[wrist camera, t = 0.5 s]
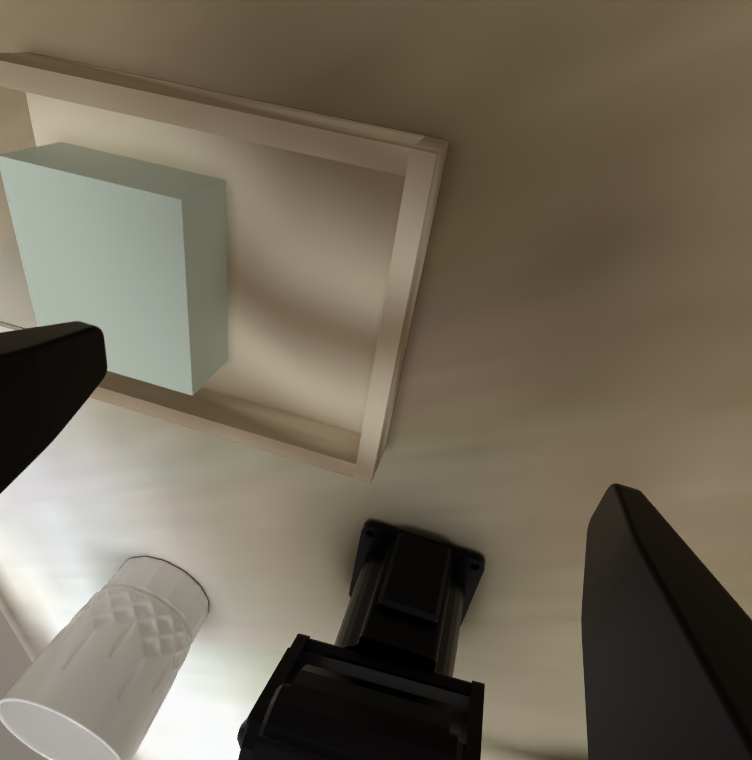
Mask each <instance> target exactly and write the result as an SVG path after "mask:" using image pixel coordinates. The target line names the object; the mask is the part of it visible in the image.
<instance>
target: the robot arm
mask: <svg viewBox="0 0 752 760" xmlns="http://www.w3.org/2000/svg"><path fill="white" fill-rule="evenodd" d="M106 372H107V357H106V349H105V340H104V334H103V332H102V330H101V329H100V328H99V327H97V326H94V325H91V324H88V323H84V322H81V321H73V322H66V323H59V324H53V325H46V326H40V327H33V328H27V329H20V330H14V331H7V332H1V333H0V494H1V493H2V492H3V491H4V490H5V489H6V488H7V487H8V486H9V485H10V484H11V483H12V482H13V481H14V480H15V479H16V478H17V477H18V476H19V475H20V474H21V473H22V472H23V471H24V470H25V469H26V468H27V467H28V466H29V465H30V464H31V463H32V462H33V461H34V460H35V459H36V458H37V457H38V456H39V455H40V454H41V453H42V452H43V451H44V450H45V449H46V448H47V447H48V445H49V444H50V443H51V442H52V441H53V440H54V439H55V438H56V437H57V435H58V434H59V433H60V432H61V431H62V430H63V428H64V427H65V426H66V425H67V423H68V422H69V421H70V420H71V419H72V417H73V416H74V415H75V414H76V412H77V411H78V410H79V409H80V408H81V406H82V405H83V404H84V403H85V401H86V400H87V399H88V398H89V397H90V395H91V394H92V393H93V392H94V390H95V389H96V388H97V387H98V386H99V384H100V383H101V382H102V381H103V379H104V377H105V375H106ZM370 530H371V531H370ZM474 563H475V564H474ZM484 568H485V560H484V558H483V557H482V556H480V555H478V554H475V553H472V552H469V551H465V550H462V549H459V548H456V547H453V546H450V545H446V544H443V543H440V542H437V541H434V540H430V539H427V538H424V537H421V536H418V535H415V534H411V533H408V532H405V531H402V530H399V529H395V528H392V527H389V526H386V525H383V524H380V523H376V522H372V521H368V522H366V523H365V524H364V526H363V529H362V532H361V537H360V542H359V547H358V552H357V557H356V562H355V567H354V572H353V577H352V582H351V587H350V592H349V596H350V597H351V599H350V602H349V605H348V607H347V610H346V613H345V616H344V619H343V622H342V625H341V627H340V630H339V633H338V636H337V639H336V642H335V645H332V644H328V643H324V642H321V641H317V640H313V639H310V636H307V635H303V634H298V635H297V637H296V638H295V640H294V642H293V644H292V645H291V647H290V648H288V649H287V650H286V652H285V654H284V656H283V657H282V659H281V661H280V662H279V664H278V666H277V668H276V669H275V671H274V673H273V674H272V676H271V678H270V680H269V681H268V683H267V685H266V687H265V688H264V690H263V692H262V693H261V695H260V697H259V699H258V700H257V702H256V704H255V705H254V707H253V709H252V711H251V712H250V714H249V716H248V718H247V719H246V720H245V721H244V722H243V724H242V725H241V727H240V729H239V732H238V737H237V740H238V742H239V745H240V748H241V751H240V755H239V759H238V760H480V756H481V739H482V721H483V704H484V687H485V684H483V683H480V682H476V681H472V683H471V682H468V681H464V680H460V679H457V678H453V672H454V665H455V658H456V651H457V644H458V637H459V631H460V626H461V624H462V622H463V619H464V617H465V614H466V612H467V610H468V607H469V605H470V603H471V600H472V598H473V595H474V593H475V591H476V588H477V586H478V584H479V581H480V579H481V576H482V574H483V572H484ZM581 621H582V647H583V665H584V683H585V702H586V720H587V738H588V756H589V760H752V620H751V618H750V617H749V616H748V615H747V614H746V613H745V611H744V610H743V609H742V608H741V607H740V606H739V604H738V603H737V602H736V601H735V600H734V599H733V598H732V596H731V595H730V594H729V593H728V592H727V591H726V589H725V588H724V587H723V586H722V585H721V584H720V582H719V581H718V580H717V579H716V578H715V577H714V575H713V574H712V573H711V572H710V571H709V570H708V569H707V567H706V566H705V565H704V564H703V563H702V562H701V560H700V559H699V558H698V557H697V556H696V555H695V553H694V552H693V551H692V550H691V549H690V548H689V546H688V545H687V544H686V543H685V542H684V541H683V540H682V538H681V537H680V536H679V535H678V534H677V533H676V531H675V530H674V529H673V528H672V527H671V526H670V524H669V523H668V522H667V521H666V520H665V519H664V517H663V516H662V515H661V514H660V513H659V512H658V511H657V509H656V508H655V507H654V506H653V505H652V504H651V502H650V501H649V500H648V499H647V498H646V497H645V495H644V494H643V493H642V492H641V491H639V490H637V489H634V488H631V487H627V486H624V485H621V484H617V483H615V484H612V485H611V486H610V487H609V488H608V489H607V490H606V492H605V494H604V496H603V498H602V499H601V501H600V503H599V505H598V507H597V508H596V510H595V512H594V514H593V515H592V517H591V519H590V522H589V525H588V530H587V541H586V555H585V570H584V584H583V599H582V618H581Z"/></svg>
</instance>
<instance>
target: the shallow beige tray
mask: <svg viewBox="0 0 752 760" xmlns="http://www.w3.org/2000/svg"><path fill="white" fill-rule="evenodd" d="M0 87H5V88H9V89H14V90H19V91H23V92H26V97H27V102H28V107H29V112H30V117H31V122H32V127H33V132H34V137H35V142H36V147H38V146H43V145H48V144H52V143H57V142H65V143H69V144H73V145H77V146H82V147H86V148H90V149H95V150H99V151H103V152H107V153H112V154H116V155H120V156H125V157H129V158H133V159H137V160H142V161H146V162H150V163H155V164H159V165H163V166H167V167H172V168H176V169H180V170H185V171H189V172H193V173H197V174H202V175H206V176H210V177H215V178H219V179H223V180H226V213H227V307H228V361H227V362H226V363H225V364H224V365H223V366H222V367H221V368H220V369H219V370H218V371H217V372H216V373H215V374H214V375H213V376H212V377H211V378H210V379H209V380H208V381H207V382H206V383H205V384H204V385H203V386H202V387H201V388H200V389H199V390H198V391H197V392H196V393H195V394H194V395H193V396H192V395H188V394H185V393H181V392H178V391H175V390H171V389H168V388H164V387H161V386H158V385H154V384H151V383H148V382H144V381H141V380H137V379H134V378H131V377H127V376H124V375H120V374H117V373H114V372H110V371H107V372H106V375H105V377H104V379H103V381H102V382H101V383H100V384H99V386H98V387H97V388H96V389H95V390H94V392H93V393H92V394H91V395H90V398H94V399H97V400H100V401H103V402H107V403H110V404H113V405H117V406H120V407H123V408H126V409H130V410H133V411H136V412H140V413H143V414H146V415H149V416H153V417H156V418H159V419H163V420H166V421H169V422H172V423H176V424H179V425H182V426H186V427H189V428H192V429H195V430H199V431H202V432H205V433H209V434H212V435H215V436H218V437H222V438H225V439H228V440H232V441H235V442H238V443H241V444H245V445H248V446H251V447H255V448H258V449H261V450H264V451H268V452H271V453H274V454H278V455H281V456H284V457H287V458H291V459H294V460H297V461H301V462H304V463H307V464H310V465H314V466H317V467H320V468H324V469H327V470H330V471H333V472H337V473H340V474H343V475H347V476H350V477H353V478H357V479H360V480H363V481H366V482H370V483H371V482H372V480H373V477H374V475H375V472H376V470H377V467H378V465H379V462H380V460H381V457H382V454H383V452H384V449H385V446H386V442H387V437H388V432H389V427H390V423H391V418H392V413H393V408H394V403H395V399H396V394H397V389H398V384H399V380H400V375H401V370H402V365H403V360H404V356H405V351H406V346H407V341H408V337H409V332H410V327H411V322H412V317H413V313H414V308H415V303H416V298H417V294H418V289H419V284H420V279H421V274H422V270H423V265H424V260H425V255H426V251H427V246H428V241H429V236H430V231H431V227H432V222H433V217H434V212H435V208H436V203H437V198H438V193H439V188H440V184H441V179H442V174H443V169H444V164H445V160H446V155H447V150H448V145H449V141H448V140H443V139H439V138H434V137H429V136H424V135H420V134H415V133H410V132H405V131H401V130H396V129H391V128H386V127H381V126H377V125H372V124H367V123H362V122H358V121H353V120H348V119H343V118H339V117H334V116H329V115H324V114H320V113H315V112H310V111H305V110H300V109H296V108H291V107H286V106H281V105H277V104H272V103H267V102H262V101H258V100H253V99H248V98H243V97H238V96H234V95H229V94H224V93H219V92H215V91H210V90H205V89H200V88H196V87H191V86H186V85H181V84H177V83H172V82H167V81H162V80H157V79H153V78H148V77H143V76H138V75H134V74H129V73H124V72H119V71H115V70H110V69H105V68H100V67H95V66H91V65H86V64H81V63H76V62H72V61H67V60H62V59H57V58H53V57H48V56H43V55H38V54H34V53H29V52H28V53H0Z"/></svg>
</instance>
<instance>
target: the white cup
mask: <svg viewBox="0 0 752 760" xmlns="http://www.w3.org/2000/svg"><path fill="white" fill-rule="evenodd" d="M207 614H208V600H207V598H206V596H205V594H204V592H203V590H202V588H201V587H200V586H199V585H198V584H197V583H196V582H195V581H194V580H193V579H192V578H191V577H190V576H189V575H188V574H186V573H185V572H184V571H182V570H180V569H178V568H177V567H175V566H173V565H171V564H169V563H167V562H165V561H162V560H158V559H154V558H150V557H138V558H131V559H129V560H128V561H127V562H126V563H125V564H124V565H123V566H122V567H121V568H120V569H119V570H118V572H117V573H116V574H115V575H114V576H113V577H112V579H111V580H110V581H109V582H108V583H107V584H106V585H105V586H104V587H103V588H102V589H101V590H100V591H99V592H97V593H96V594H94V595H93V597H92V598H91V599H90V600H89V601H88V603H87V604H86V605H85V606H84V607H83V608H82V609H81V610H80V611H79V612H78V613H77V614H76V615H75V616H74V617H73V619H72V620H71V621H70V623H69V624H68V625H67V626H65V627H64V628H63V629H62V630H61V631H60V632H59V633H58V634H57V636H56V637H55V638H54V639H53V640H52V641H51V643H50V644H49V645H48V646H47V647H46V648H45V650H44V651H43V652H42V653H41V654H40V655H39V656H38V658H37V659H36V660H35V661H34V662H33V663H32V665H30V667H29V668H28V669H27V670H26V671H25V672H24V673H23V674H22V675H21V676H20V678H19V679H18V680H17V681H16V682H15V683H14V684H13V686H12V687H11V688H10V689H9V690H8V691H7V692H6V693H5V694H4V696H3V697H2V698H1V699H0V720H1V722H2V723H3V724H4V725H5V727H6V728H7V729H8V730H9V731H10V732H11V733H12V734H13V735H14V736H15V737H17V738H18V739H19V740H20V741H22V742H23V743H24V744H25V745H27V746H28V747H29V748H31V749H32V750H34V751H35V752H37V753H38V754H40V755H42V756H43V757H45V758H47V759H49V760H133V758H134V756H135V754H136V752H137V750H138V749H139V747H140V745H141V743H142V741H143V739H144V737H145V735H146V733H147V732H148V730H149V728H150V726H151V724H152V722H153V720H154V718H155V717H156V715H157V713H158V711H159V709H160V707H161V705H162V703H163V702H164V700H165V698H166V696H167V694H168V692H169V690H170V688H171V686H172V684H173V682H174V680H175V678H176V675H177V673H178V671H179V670H180V668H181V666H182V665H183V663H184V661H185V659H186V656H187V654H188V652H189V649H190V646H191V644H192V642H193V640H194V639H195V637H196V635H197V633H198V631H199V629H200V628H201V626H202V624H203V622H204V620H205V618H206V616H207Z"/></svg>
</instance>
